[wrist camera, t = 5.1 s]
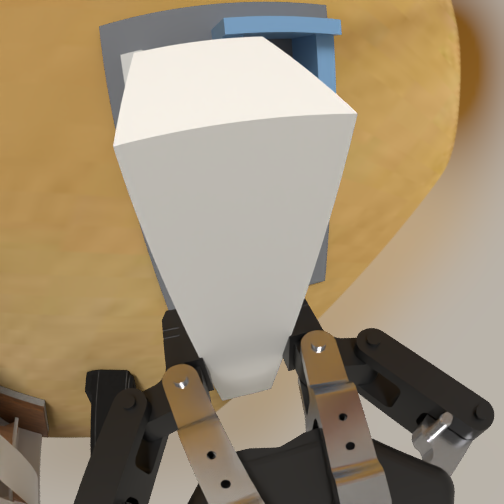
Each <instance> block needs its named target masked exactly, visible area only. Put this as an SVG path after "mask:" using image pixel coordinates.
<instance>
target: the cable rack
mask: <svg viewBox="0 0 504 504" xmlns="http://www.w3.org/2000/svg"><path fill="white" fill-rule="evenodd" d="M99 30H100V39H101V47H102V54H103V61H104V68H105V75H106V81H107V87H108V93H109V98H110V104H111V109H112V114H113V119H114V124H115V129H116V127H117V122H118V117H119V112H120V107H121V102H122V98H123V93H124V89H125V85H126V81H127V77H128V73H129V69H130V65H131V61H132V58H133V54H134V53H136V52H141V51H145V50H150V49H155V48H160V47H165V46H171V45H177V44H183V43H190V42H198V41H206V40H215V39H226V38H240V37H264V38H265V39H267V40H268V41H270V42H271V43H272V44H274V45H275V46H277V47H278V48H279V49H281V50H282V51H284V52H285V53H286V54H288V55H289V56H290V57H292V58H293V59H294V60H296V61H297V62H298V63H299V64H301V65H302V66H303V67H305V68H306V69H307V70H308V71H310V72H311V73H312V74H313V75H314V76H316V77H317V78H318V79H319V80H321V81H322V82H323V83H324V84H325V85H326V86H328V87H329V88H330V89H331V90H332V91H333V92H335V93H336V77H335V54H334V37H333V36H334V35H342V33H341V20H337V19H328V18H327V11H326V5H318V4H307V3H290V2H240V3H223V4H211V5H201V6H193V7H185V8H178V9H172V10H166V11H161V12H155V13H150V14H146V15H141V16H137V17H132V18H128V19H124V20H120V21H117V22H113V23H109V24H106V25H103V26H99ZM139 223H140V222H139ZM140 226H141V225H140ZM141 230H142V228H141ZM142 233H143V230H142ZM328 233H329V223H328V226H327V229H326V233H325V236H324V239H323V242H322V246H321V249H320V252H319V255H318V258H317V262H316V265H315V268H314V271H313V274H312V277H311V280H310V283H309V285H310V284H314V283H318V282H322V281H325V274H326V261H327V248H328ZM143 236H144V240H145V243H146V246H147V249H148V252H149V255H150V258H151V261H152V264H153V267H154V270H155V273H156V276H157V279H158V282H159V285H160V288H161V291H162V293H163V296H164V299H165V302H166V304H167V307H168V310H173V309H176V308H175V306H174V304H173V302H172V299H171V297H170V295H169V293H168V290H167V288H166V286H165V284H164V281H163V279H162V277H161V274H160V272H159V270H158V267H157V265H156V263H155V260H154V258H153V255H152V253H151V250H150V248H149V245H148V243H147V240H146V238H145V235H144V233H143Z"/></svg>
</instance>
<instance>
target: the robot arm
mask: <svg viewBox="0 0 504 504" xmlns="http://www.w3.org/2000/svg"><path fill="white" fill-rule="evenodd" d="M162 327H163V338H164V352H165V362H166V372H165V374H164V376H163V378H162V380H161V381H160V382H159V383H158V384H156V385H155V386H153V387H151V388H149V389H147V390H145V391H143V392H142V391H140V390H138V389H135V388H128V389H124V390H122V391H121V392H119V393H118V394H117V395H116V397H115V398H114V400H113V403H112V405H111V407H110V410H109V412H108V415H107V417H106V419H105V422H104V424H103V427H102V429H101V432H100V434H99V437H98V439H97V442H96V444H95V447H94V449H93V452H92V454H91V457H90V460H89V462H88V466H87V468H86V470H85V473H84V476H83V479H82V481H81V484H80V487H79V490H78V493H77V496H76V499H75V501H74V504H148V503H149V499H150V496H151V492H152V489H153V486H154V482H155V479H156V475H157V472H158V469H159V465H160V462H161V459H162V455H163V452H164V449H165V446H166V442H167V439H168V435H169V434H171V433H173V432H174V431H176V430H177V431H178V435H179V438H180V440H181V443H182V445H183V448H184V450H185V453H186V455H187V457H188V460H189V462H190V464H191V467H192V469H193V471H194V474H195V476H196V478H197V480H198V485H197V487H196V489H195V491H194V493H193V495H192V496H191V498H190V500H189V502H188V504H454V492H455V491H454V485H453V481H452V479H451V477H450V476H451V475H452V473H453V472H454V470H455V469H456V467H457V465H458V464H459V462H460V461H461V459H462V457H463V456H464V454H465V453H466V451H467V449H468V448H469V446H470V444H471V442H472V441H473V440H474V439H475V438H477V437H478V436H479V435H480V434H482V433H483V432H484V431H485V430H486V429H488V428H489V427H490V426H491V424H492V422H493V420H494V410H493V408H492V406H491V404H490V403H489V402H488V401H486V400H485V399H483V398H482V397H480V396H479V395H477V394H476V393H474V392H473V391H471V390H470V389H468V388H467V387H465V386H464V385H462V384H461V383H459V382H458V381H456V380H455V379H453V378H452V377H450V376H449V375H447V374H446V373H444V372H443V371H441V370H440V369H438V368H437V367H435V366H434V365H432V364H431V363H429V362H428V361H426V360H425V359H423V358H422V357H420V356H419V355H417V354H416V353H414V352H413V351H411V350H410V349H408V348H407V347H405V346H404V345H402V344H401V343H399V342H398V341H396V340H395V339H393V338H392V337H390V336H389V335H387V334H386V333H384V332H383V331H381V330H379V329H375V328H369V329H365V330H363V331H361V332H360V333H359V334H358V336H357V338H336V337H333V336H332V335H331V334H329V333H327V332H325V331H324V330H323V329H322V327H321V326H320V324H319V322H318V320H317V319H316V317H315V315H314V313H313V312H312V310H311V308H310V306H309V305H308V303H307V301H306V300H305V299H304V301H303V304H302V307H301V309H300V312H299V315H298V318H297V321H296V324H295V326H294V329H293V332H292V335H291V336H289V338H288V341H287V343H286V346H285V349H284V352H283V355H282V356H283V359H284V361H285V364H286V366H287V368H288V371H290V370H294V369H296V372H297V374H298V384H299V389H300V394H301V399H302V404H303V410H304V414H305V423H306V432H305V433H303V434H301V435H300V436H298V437H296V438H295V439H293V440H292V441H290V442H288V443H286V444H285V445H283V446H281V447H277V448H253V449H252V448H251V449H245V450H241V451H237V452H235V450H234V448H233V446H232V444H231V442H230V440H229V438H228V436H227V434H226V432H225V430H224V428H223V426H222V424H221V422H220V420H219V418H218V416H217V415H216V412H215V410H214V408H213V406H212V404H211V400H210V395H209V391H212V390H214V388H213V384H212V379H211V375H210V372H209V370H208V368H207V366H206V364H205V362H204V360H203V358H199V356H198V354H197V352H196V350H195V348H194V346H193V344H192V342H191V340H190V338H189V336H188V334H187V332H186V330H185V327H184V325H183V323H182V321H181V319H180V317H179V315H178V313H177V310H176V309H173V310H168V311H166V312H165V315H164V317H163V319H162ZM358 393H359V394H360V395H362V396H363V397H364V398H365V399H367V400H368V401H369V402H371V403H372V404H373V405H375V406H376V407H377V408H379V409H380V410H381V411H382V412H384V413H385V414H387V415H388V416H389V417H391V418H392V419H393V420H395V421H396V422H397V423H399V424H400V425H401V426H403V427H404V428H405V429H407V430H408V431H410V432H411V433H412V434H413V435H412V442H413V445H414V447H415V448H416V449H417V450H418V451H419V452H420V454H421V456H422V460H420V459H418V458H415V457H413V456H411V455H408V454H406V453H403V452H401V451H399V450H396V449H394V448H392V447H390V446H387V445H385V444H383V443H381V442H379V441H376V440H374V439H372V438H371V435H370V431H369V428H368V425H367V421H366V418H365V414H364V411H363V408H362V404H361V401H360V398H359V395H358Z"/></svg>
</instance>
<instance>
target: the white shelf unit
mask: <svg viewBox="0 0 504 504" xmlns="http://www.w3.org/2000/svg"><path fill="white" fill-rule="evenodd" d="M48 430H49V426H48V420H47V413H46V406H45V400H42V399H39V398H35V397H32V396H28V395H25V394H22V393H19V392H16V391H13V390H10V389H7V388H4V387H2V386H0V504H40V457H41V441H42V436H44V437H48Z"/></svg>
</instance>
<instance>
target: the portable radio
mask: <svg viewBox="0 0 504 504" xmlns="http://www.w3.org/2000/svg"><path fill="white" fill-rule="evenodd" d="M128 388H135V389H136V385H135V381H134V377H133V376H132V375H130V373H129V372H128V371H127V370H95V371H90V372H87V375H86V386H85V392H86V394H87V396H88V398H89V400H90V402H91V454H92V452H93V449H94V447H95V444H96V442H97V439H98V437H99V434H100V432H101V429H102V427H103V424H104V422H105V419H106V417H107V415H108V412H109V410H110V407H111V405H112V403H113V400H114V398H115V397H116V395H117V394H118V393H119V392H121V391H122V390H124V389H128Z"/></svg>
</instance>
